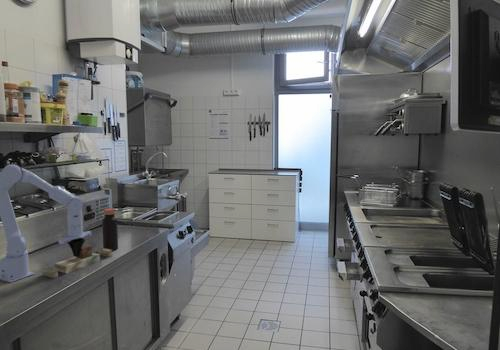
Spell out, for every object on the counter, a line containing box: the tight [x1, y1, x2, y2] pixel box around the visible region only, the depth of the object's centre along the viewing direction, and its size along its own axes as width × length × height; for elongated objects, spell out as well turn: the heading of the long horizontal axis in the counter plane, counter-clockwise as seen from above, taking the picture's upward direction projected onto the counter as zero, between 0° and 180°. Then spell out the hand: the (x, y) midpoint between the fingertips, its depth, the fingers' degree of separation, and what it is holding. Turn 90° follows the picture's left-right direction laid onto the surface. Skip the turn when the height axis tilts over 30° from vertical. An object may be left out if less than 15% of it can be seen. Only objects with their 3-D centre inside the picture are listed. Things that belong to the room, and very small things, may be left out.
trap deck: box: [42, 247, 113, 279], centre depth 153 cm, size 29×7×3 cm, turn 154°
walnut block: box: [77, 244, 93, 259], centre depth 154 cm, size 4×4×4 cm
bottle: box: [101, 208, 119, 252], centre depth 173 cm, size 7×7×20 cm
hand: (76, 256), depth 151 cm, fingers closed
